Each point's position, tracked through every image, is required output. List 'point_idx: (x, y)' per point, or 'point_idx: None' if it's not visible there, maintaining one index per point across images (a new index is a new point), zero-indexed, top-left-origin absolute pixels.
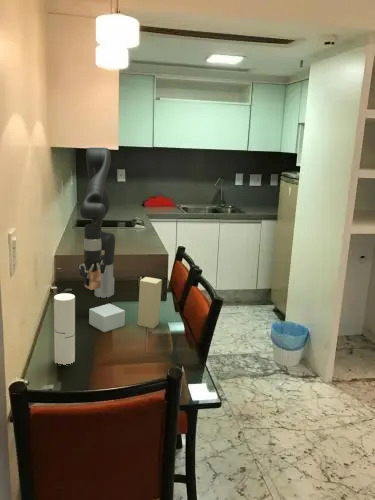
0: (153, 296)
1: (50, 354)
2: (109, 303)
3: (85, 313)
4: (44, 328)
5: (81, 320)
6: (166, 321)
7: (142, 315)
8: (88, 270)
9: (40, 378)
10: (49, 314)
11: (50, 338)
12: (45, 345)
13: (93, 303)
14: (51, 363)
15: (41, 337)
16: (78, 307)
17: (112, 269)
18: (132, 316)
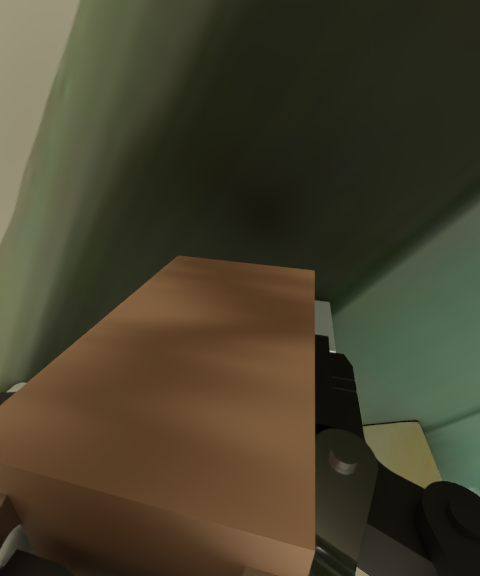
0: None
1: (10, 357)
2: (333, 351)
3: (277, 166)
4: (28, 188)
5: (203, 231)
6: (471, 482)
7: None
8: (36, 527)
9: None
10: (95, 16)
11: (30, 281)
12: (6, 309)
13: (468, 23)
14: (4, 389)
15: (4, 253)
16: (314, 26)
17: None
18: (425, 366)
